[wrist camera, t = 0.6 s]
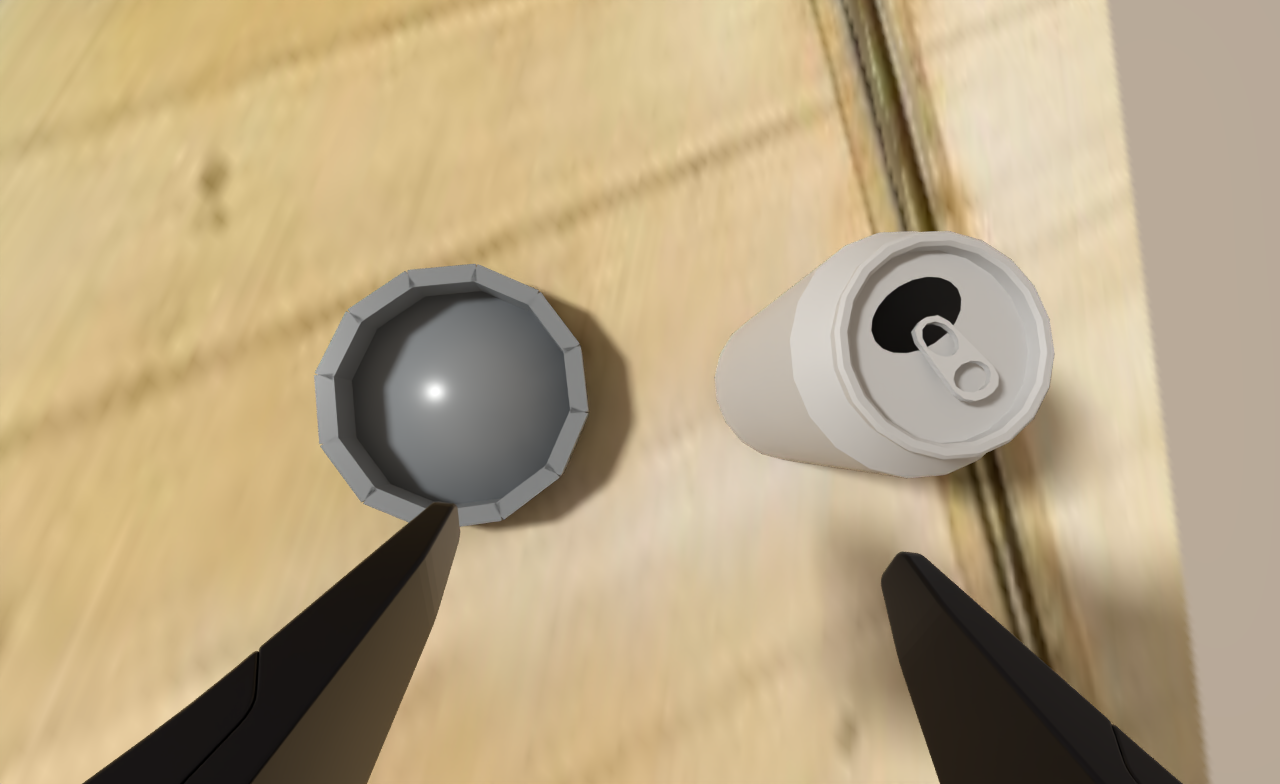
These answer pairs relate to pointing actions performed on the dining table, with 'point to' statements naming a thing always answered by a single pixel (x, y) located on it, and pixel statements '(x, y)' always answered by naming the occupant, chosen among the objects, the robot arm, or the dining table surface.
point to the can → (892, 358)
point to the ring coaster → (451, 394)
